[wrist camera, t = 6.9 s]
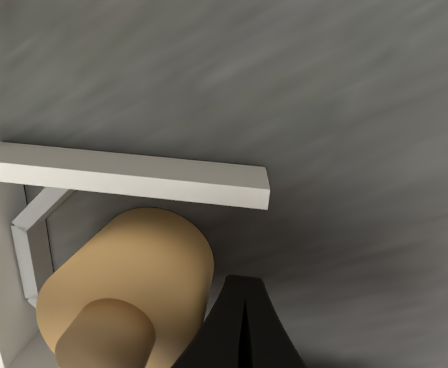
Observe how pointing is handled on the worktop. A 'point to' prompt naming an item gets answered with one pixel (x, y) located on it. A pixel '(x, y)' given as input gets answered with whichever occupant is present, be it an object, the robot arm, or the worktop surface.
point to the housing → (88, 181)
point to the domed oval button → (129, 294)
